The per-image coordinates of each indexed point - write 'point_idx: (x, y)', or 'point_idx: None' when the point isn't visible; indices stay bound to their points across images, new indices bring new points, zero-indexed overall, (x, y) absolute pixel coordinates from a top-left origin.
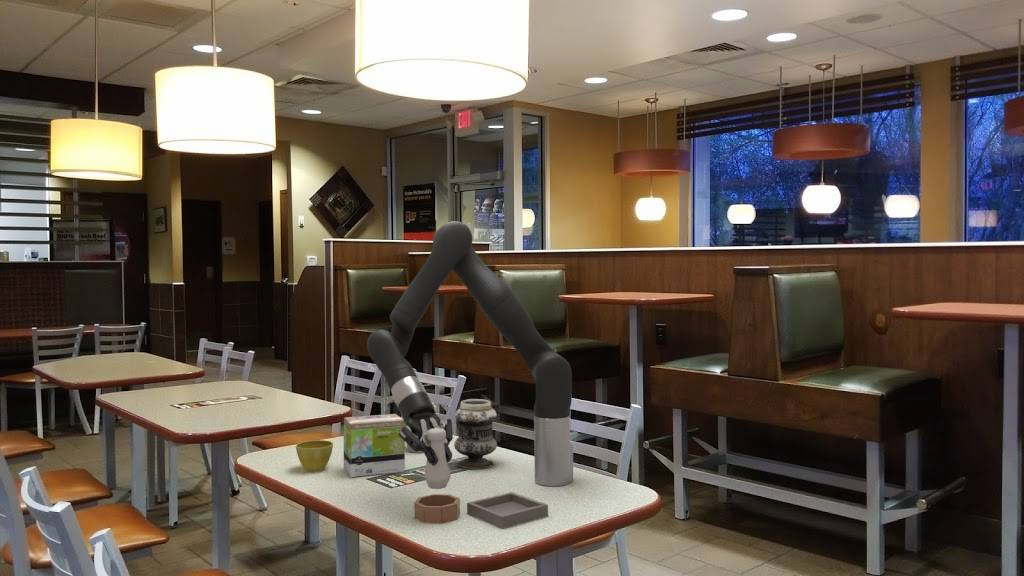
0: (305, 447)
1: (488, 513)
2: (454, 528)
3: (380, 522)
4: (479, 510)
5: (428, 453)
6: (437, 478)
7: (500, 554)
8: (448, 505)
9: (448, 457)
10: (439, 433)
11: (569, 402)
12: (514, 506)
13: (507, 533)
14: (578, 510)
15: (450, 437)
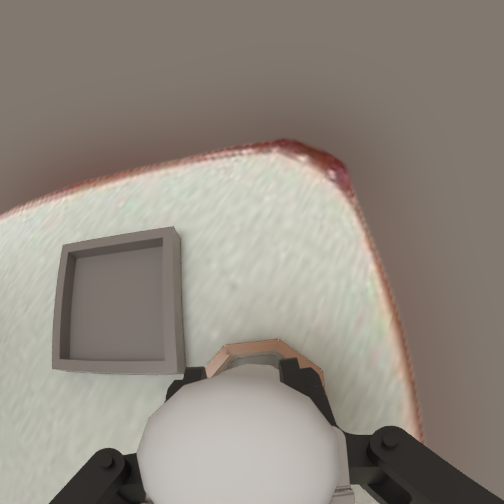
0: None
1: (174, 277)
2: (267, 295)
3: (400, 421)
4: (176, 315)
5: (327, 399)
6: (277, 369)
7: (259, 145)
8: (252, 344)
9: (203, 375)
10: (250, 377)
11: None
12: (86, 323)
13: (189, 212)
14: (32, 251)
15: (107, 458)
